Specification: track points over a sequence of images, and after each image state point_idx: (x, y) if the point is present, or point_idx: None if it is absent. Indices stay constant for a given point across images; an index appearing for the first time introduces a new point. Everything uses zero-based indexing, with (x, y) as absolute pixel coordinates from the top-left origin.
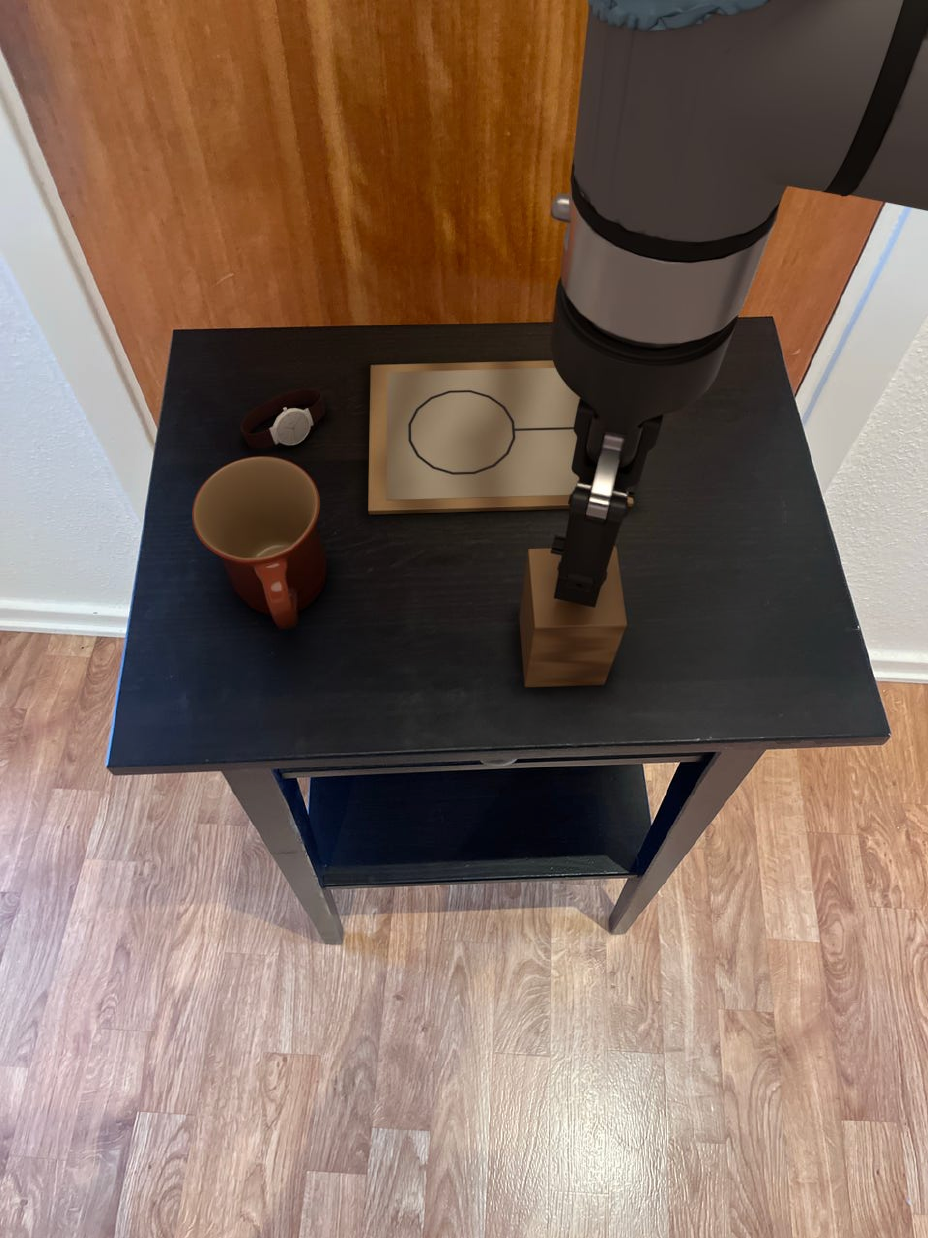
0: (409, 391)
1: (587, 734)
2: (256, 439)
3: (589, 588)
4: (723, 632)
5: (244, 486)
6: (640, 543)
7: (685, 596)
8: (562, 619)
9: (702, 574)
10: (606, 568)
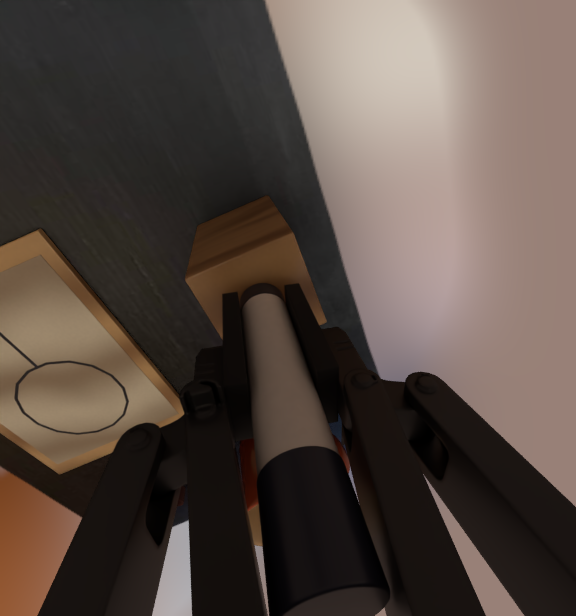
0: (63, 445)
1: (320, 195)
2: (182, 495)
3: (348, 337)
4: (146, 68)
5: (259, 519)
6: (84, 205)
7: (122, 132)
8: (309, 302)
9: (78, 116)
10: (507, 442)
